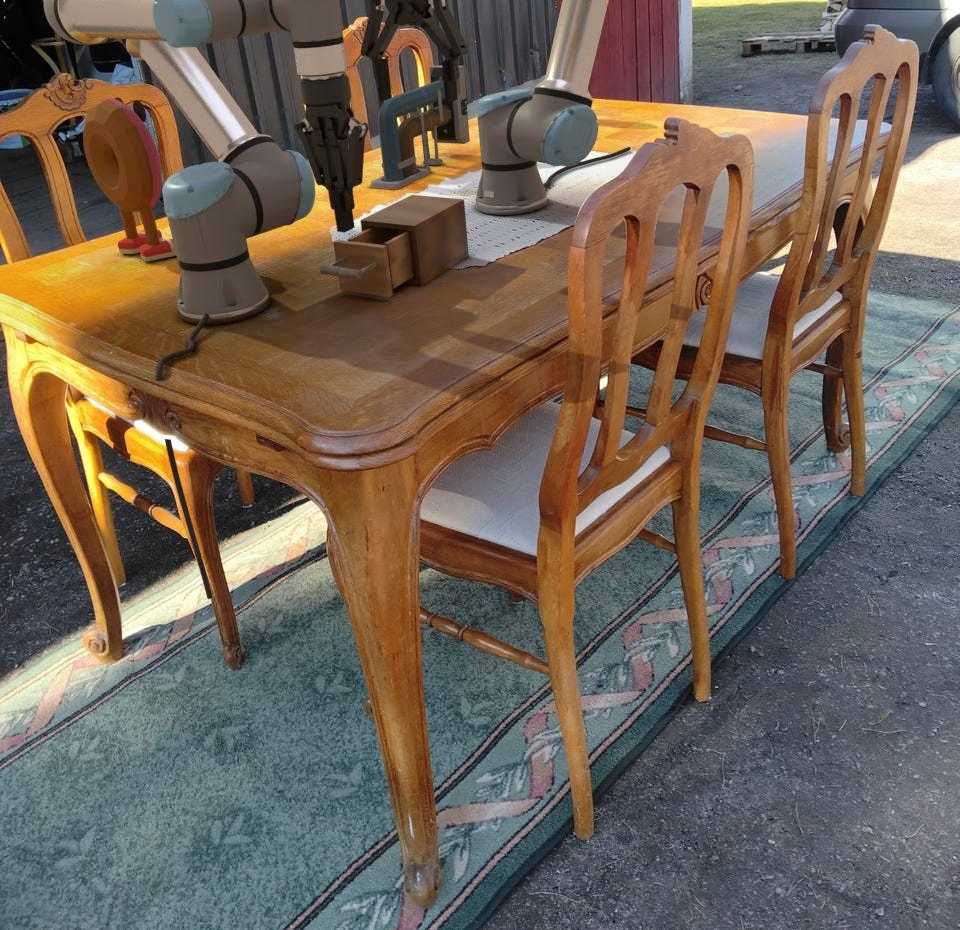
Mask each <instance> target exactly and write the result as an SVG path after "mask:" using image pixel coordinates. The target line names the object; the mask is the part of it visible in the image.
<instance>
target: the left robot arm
mask: <svg viewBox="0 0 960 930" xmlns="http://www.w3.org/2000/svg"><path fill="white" fill-rule="evenodd" d="M43 11H44V15H45V18H46V20H47V22H48V24H49V25H50V27H51V29H52V30H53V31H54V32H55V33H56V34H57V35H58V36H60V37H61V38H62V39H64V40H66V41H68V42H70V43H72V44H76V45H84V46H86V45H88V46H89V45H90V46H92V45H101V44H106V43H114V42H119V43H121V44H122V46H123V47H124V49H125V50H126V51H127V52H128V54H129V55H130V57H132V58H134V59H136V60H140V61H145V63H146V64H147V65H148V67H149V68H150V70H151V71H152V73H153V74H154V75H155V76H156V78H157V79H158V81H159V82H160V84H161V85H162V87H163V88H164V89H165V91H166V92H167V93H168V94H169V96H170V98H171V99H172V100H173V102H174V103H175V105H176V106H177V108H178V109H179V110H180V111H181V113H182V114H183V116H184V117H185V118H186V119H187V121H188V123H189V124H190V125H191V126H192V128H193V130H194V131H195V132H196V134H197V135H198V136H199V138H200V139H201V141H202V142H203V143H204V145H205V146H206V147H207V149H208V150H209V152H210V153H211V154H212V156H213V157H214V159H215V160H216V161H207V162H203V163H202V164H201V163H200V164H194V165H190V166H188V167H184V168H183V169H180V170H178V171H176V172H174V173H173V174H171V175H170V176H169V177H168V178H167V179H166V180H165V181H164V183H163V184H162V188H161V192H162V200H163V209H164V213H165V215H166V217H167V221H168V226H169V230H170V234H171V239H173V242H174V246H175V251H176V255H177V256H176V258H177V262H178V266H179V283H178V294H177V310H178V314H179V318H180V319H182V320H183V321H184V322H186V323H189V324H193V325H196V326H195V327H194V329H193V330H192V332H191V333H190V334H189V336H188V339H187V340H186V341H187V346H188V347H186V348H183V349H181V350H177V351H173V352H170V353H168V354H166V355H164V356H163V357H161V358H160V359H159V360H158V361H157V363H156V369H155V371H156V372H155V382H161V381H162V380H163V371H164V365H165V364H166V363H168V362H169V361H171V360H174V359H176V358H179V357H182V356H186V355H189V354H190V353H192V352H194V350H195V348H196V345H195V343H194V341H195V339H196V338H197V336H198V334H199V333H200V332H201V330H202V329H203V328H204V326H205V325H206V326H210V325H222V324H230V323H233V322H239V321H241V320H245V319H248V318H251V317H253V316H256V315H258V314H260V312H263V311H264V310H265V309H266V308H267V307H268V306H269V305H270V296H269V291H268V288H267V287H266V284H265V283H264V282H263V280H262V278H261V276H260V274H259V272H258V270H257V269H256V267H255V265H254V264H253V262H252V260H251V257H250V251H249V246H248V241H247V240H248V239H250V238H253V237H256V236H260V235H261V234H264V233H267V232H271V231H274V230H276V229H280V228H283V227H286V226H291V225H293V224H294V223H296V222H298V221H300V220H302V219H304V218H307V216H308V215H309V214H310V213H311V211H312V210H313V208H314V205H315V201H316V185H317V186H319V187H320V186H322V187H324V188H325V189H326V190H327V193H328V200H329V205H330V208H331V210H333V212H334V219H335V224H336V232H337V233H347V232H349V231H351V230H353V229H354V228H356V227H355V221H354V213H353V210H355V208H356V207H355V206H356V203H355V196H354V188H355V187H358V186H360V185H362V184H363V179H364V178H363V177H364V162H365V161H364V159H365V144H366V143H365V142H366V137H367V134H368V132H369V128H370V127H369V124H368V123H367V122H362V123H361V122H360V121H359V120H358V119H357V118H355V113H354V111H353V109H352V106H351V101H352V90H351V89H352V88H351V82H350V76H349V75H348V74H347V73H345V72H346V71H347V70H348V62H347V54H346V47H345V39H344V32H343V23H342V18H341V17H342V15H341V8H340V1H339V0H43ZM272 32H289V33H290V34H291V38H292V41H291V42H292V46H293V53H294V61H295V67H296V74H297V75H298V76H300V77H301V78H300V79H299V81H298V84H299V85H298V86H299V92H300V97H301V103H302V104H303V105H304V106H305V111H304V118H303V119H302V120H300V121H299V122H297V123H294V124H293V127H294V128H293V129H294V131H295V132H296V133H297V135H298V137H299V138H300V140H301V142H302V145H303V148H304V151H305V154H306V158H307V159H306V158H305V157H304V156H303V155H302V154H301V153H300V152H298V151H294V150H290V149H286V150H285V151H283V150H282V149H281V148H280V147H279V145H278V143H277V142H276V141H275V139H274V137H272V136H271V135H269V134H263V133H259V132H258V131H257V129H256V127H254V125H253V124H252V123H251V122H250V120H249V118H248V117H247V116H246V114H245V113H244V111H243V110H242V108H240V106H239V105H238V103H237V101H236V100H235V99H234V98H233V96H232V95H231V94H230V92H229V90H227V88H226V87H225V85H224V84H223V83H222V81H221V80H220V78H219V77H218V76H217V74H216V73H215V71H214V70H213V69H212V67H211V66H210V64H209V63H208V62H207V60H206V59H205V58H204V57H203V55H202V54H201V52H200V51H199V50H198V48H197V47H200V46H201V45H206V44H211V43H216V42H220V41H227V40H230V39H231V40H233V39H239V38H243V37H249V36H254V35H260V34H266V33H272ZM307 160H308V161H307ZM164 443H165V448H166V452H167V456H168V457H167V458H168V461H169V465H170V470H171V474H172V477H173V481H174V485H175V489H176V492H177V495H178V500H179V504H180V506H181V511H182V514H183V517H184V522H185V524H186V528H187V531H188V535H189V538H190V541H191V544H192V548H193V552H194V556H195V558H196V562H197V565H198V569H199V572H200V576H201V579H202V584H203V587H204V591H205V594H206V599H208V600H211V599H213V598H214V597H213V593H212V589H211V585H210V582H209V578H208V574H207V570H206V567H205V563H204V560H203V556H202V552H201V549H200V545H199V542H198V539H197V535H196V532H195V528H194V524H193V521H192V518H191V514H190V511H189V507H188V503H187V500H186V496H185V492H184V489H183V485H182V481H181V478H180V473H179V469H178V466H177V461H176V456H175V453H174V449H173V447H174V446H173V443H172V439H169V438H164Z"/></svg>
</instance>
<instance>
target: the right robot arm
mask: <svg viewBox="0 0 960 930" xmlns="http://www.w3.org/2000/svg"><path fill="white" fill-rule="evenodd" d="M609 1H610V0H562V2H561V7H560V11H559V15H558V20H557V24H556V28H555V32H554V37H553V42H552V46H551V51H550V55H549V58H548V64H547V68H546V71H545V72H546V73H545V77H544V79H543V80H542V81H540V82H539V83H538V84H537V85H535V86H534V90H533V89H531V88H521V89H520V88H519V89H513V90H506V91H501V92H496V93H491V94H487V95H484V96H482V97H481V98H480V99H479V100H478V102H477V117H476V119H477V127H478V128H477V129H478V140H479V149H480V160H481V174H480V177H479V182H478V186H477V190H476V195H475V208H476V210H477V211H479V212H481V213H483V214H487V215H496V216H512V215H522V214H526V213H531V212H536V211H538V210H540V209H542V208H544V207H545V206H546V205H547V204H548V193H547V191H546V188H548V187H549V185H550V184H552V183H551V182H552V181H553V180H554V179H555V178H557V176H559V175H560V174H563V173H565V172H567V171H569V170H572V169H575V168H578V167H582V166H586V165H589V164H593V163H596V162H601V161H604V160H608V159H613V158H615V157H618V156H620V155H623V154H625V153H627V152H630V151H631V149H632V148H631V147H630V146H627V147H624V148H622V149H619V150H617V151H615V152H611V153H608V154H605V155H602V156H597V157H593V158H590V159H587V157H588V156H589V155H590V153H591V152H592V150H593V149H594V147H595V144H596V142H597V139H598V135H599V123H598V121H597V120H598V117H597V114H596V113H595V111H594V109H593V108H592V106H593V102H594V99H593V96H592V95H591V93H590V92H589V85H590V82H591V78H592V72H593V68H594V65H595V59H596V56H597V51H598V48H599V43H600V40H601V35H602V30H603V27H604V23H605V18H606V13H607V9H608V5H609ZM430 8H432V9H433V10H434V13H435V15H436V17H435V16H434V15H433V13H432V12H431V11H430ZM386 9H387V11H388V15H387V17H386V19H385V21H384V26H383V27H382V22H383V18H384V14H385V10H386ZM436 18H437V20H438V22H437V21H436ZM438 23H439V24H440V26H441V27H440V26H439V24H438ZM407 25H408V26H414V27H415V26H419V28H421V29H423V30H424V31H425V34H426V35H428V37H429V39H430V40H431V41H432V42H433V44H434V45H435V46H436V48H437V49H438V50H439V52H440V53H441V54H442V56H443V57H444V58H445V59H444V60H442V61H441V66H442V68H443V80H444V91H445V102H446V103H450V102H453V101H455V100H458V98H457V86H456V80H458V79H459V76H460V75H459V66H460V64H459V60H460V58H461V57H463V56H465V55H467V54H468V53H469V47H468V46H467V44H466V42H465V39H464V37H463V35H462V33H461V31H460V29H459V27H458V25H457V23H456V20H455V18H454V16H453V14H452V11H451V10H450V8H449V2H448V0H369V15H368V18H367V22H366V27H365V31H364V35H363V39H362V43H361V47H360V55H361V57H367V58H369V59H370V61H371V68H372V73H373V79H374V80H376V81H377V89H378V97H379V101H380V102H385V101H386V100H387V99H390V98H392V97H393V94H392V84H391V77H390V76H391V75H390V67H389V59H388V58H387V57H386V55H385V53H386V52H387V50H388V47H389V46H390V44H391V42H392V40H393V38H394V36H395V34H396V32H397V31H398V29H399V27H400V26H402V27H403V26H407ZM381 27H382V29H381ZM380 30H381V31H380ZM585 159H586V160H585ZM538 163H541V164H546V165H550V166H551V167H562V168H559V169H558V170H556V171H555V172H553V173H552V174H550V175H549V176H548V178H547V180H546V181H545V182H543V180H542V177H541V174H540V172H539V168H538Z"/></svg>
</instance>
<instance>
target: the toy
mask: <svg viewBox="0 0 960 930" xmlns="http://www.w3.org/2000/svg"><path fill="white" fill-rule="evenodd" d="M146 121H147V113H146V109H145V106H144V104H143V103H142V101H141V100H138V99H134V100H133V103H132V108H131V107H130V106H128V105H126V104H125V102H124V101H123V100H122V98H121V97H119V96H117V97H114V98H112V97H107V98H105V99H104V100H100V101H99V102H97V103H96V104H93V105H91V107H89V108H88V109H87V112H86V115H85V118H84V121H83V128H82V139H83V151H84V155H85V159H86V162H87V165H88V168H89V170H90V173H91V174H92V176H93V178H94V181H95V183H96V184H97V185H98V187H99V188H100V190H101V191H102V192H103V194H104V195H105V196H106V197H107V198H108V199H109V200H110V201H111V203H112V204H114V205H115V206H117V207H118V211H119V214H120V218H121V222H122V226H123V230H124V233H125V237H124V238H122V239H120V240H118V242H117V248H118V251H119V253H121V254H124V255H125V254H126V255H136V254H138V253H140V257H141V259H142V260H143V261H144V262H154V261H157V260H162V259H167V258H173V257H177V255H176V251H175V246H174V242H173V238H169V239H164V237H163V233H162V231H161V230H160V229H158V227H157V223H156V218H155V215H154V211H153V208H154V207H155V205H156V203H157V202H158V200H159V198H160V196H161V192H162V188H163V178H162V175H163V174H162V162H161V158H160V154H159V151H158V147H157V145H156V143H155V140H154V138H153V136H152V134H151V132H150V131H149V128H148V127H147V126H146V124H145V123H146ZM134 213H139V215H140V218H141V221H142V222H141V223H142V225H143V229H142V230H140V231H138V229H137V225H136V219H135V215H134Z"/></svg>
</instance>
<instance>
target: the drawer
mask: <svg viewBox="0 0 960 930" xmlns="http://www.w3.org/2000/svg"><path fill="white" fill-rule="evenodd" d="M332 244H333V250H334V251H333V252H334V258H335V261H333V262H331V263H330V264H328V265H327V264H321V265H320V266H319V273H320V274H321V275H328V276H334V277H338V282H339V288H340V291H343V292H350V293H357V294H362V295H363V294H364V295H370V296H376V297H377V296H378V297H383V298H390V297H392V296H393V295H394V292H393V290H394V289H395V288H397V287H399V286H401V285H402V284H405V283H404V282H405V281H407V280H409V279H410V278H412V277H414V276H415V266H414V258H413V249H412V240H411V231H405V230H396V229H387V228H377V227H370V228H368V229H366V230H365V231H363V232H362V231H360V232H359V233H357V234H355V235H353V236H350V237H348V238H347V240H343V239H336V240H334V241H332Z"/></svg>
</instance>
